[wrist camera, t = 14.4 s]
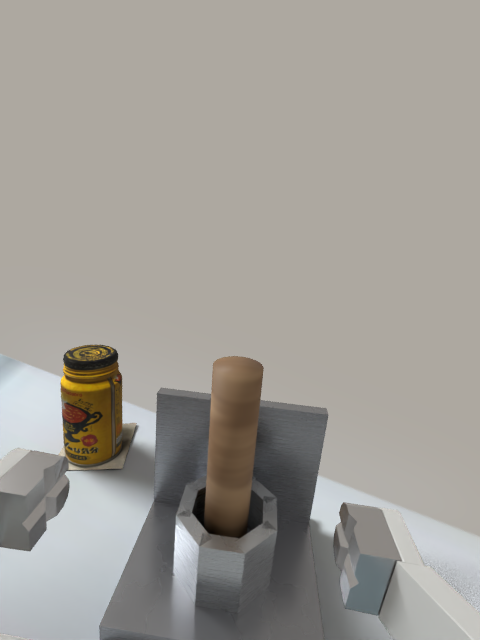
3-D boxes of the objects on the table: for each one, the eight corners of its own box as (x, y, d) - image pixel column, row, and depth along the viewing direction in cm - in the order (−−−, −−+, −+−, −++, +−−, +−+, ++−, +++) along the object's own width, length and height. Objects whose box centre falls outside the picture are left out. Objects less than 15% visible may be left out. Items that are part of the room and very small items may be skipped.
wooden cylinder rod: (196, 548, 26) (206, 358, 22) (233, 535, 27) (249, 354, 23) (210, 588, 23) (224, 379, 19) (251, 571, 25) (272, 373, 20)
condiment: (49, 471, 34) (41, 363, 31) (77, 424, 42) (74, 334, 39) (122, 470, 35) (122, 366, 32) (136, 425, 43) (137, 337, 40)
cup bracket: (324, 679, 20) (361, 518, 17) (99, 639, 21) (95, 479, 18) (304, 516, 32) (324, 402, 28) (160, 495, 32) (164, 382, 29)
